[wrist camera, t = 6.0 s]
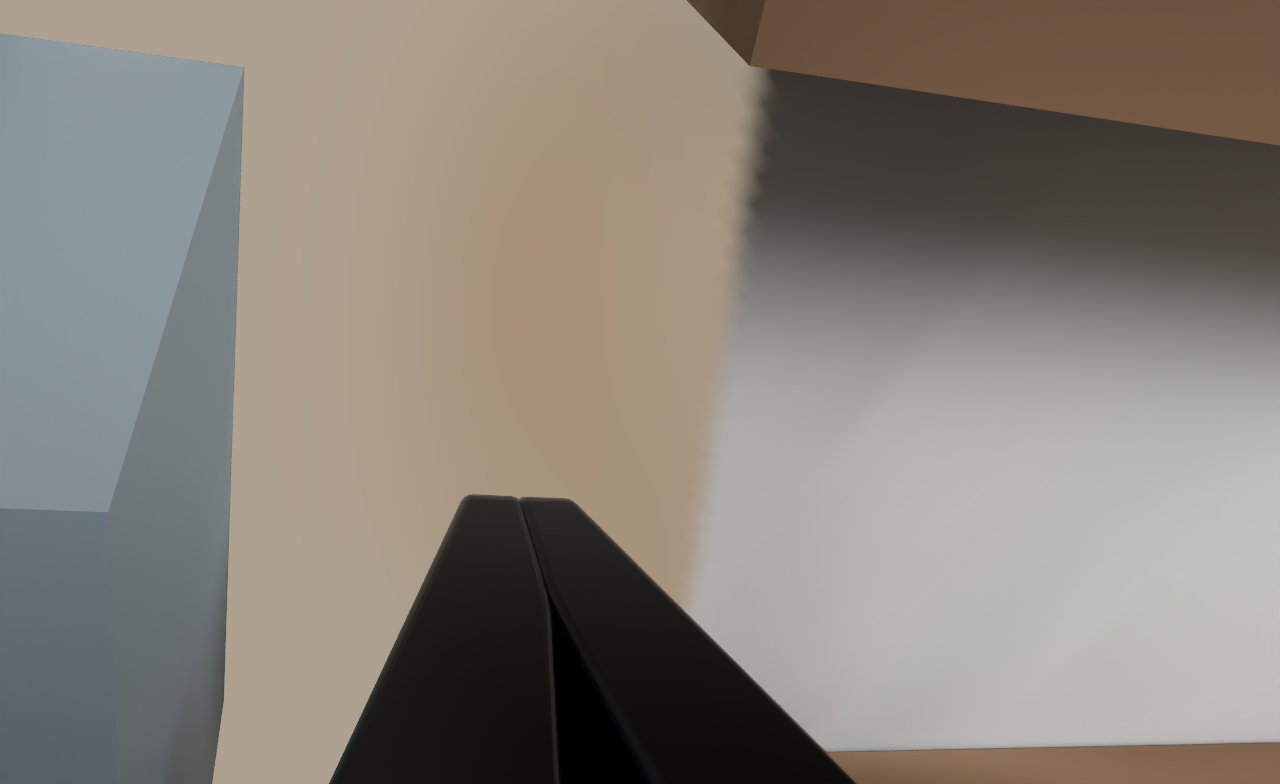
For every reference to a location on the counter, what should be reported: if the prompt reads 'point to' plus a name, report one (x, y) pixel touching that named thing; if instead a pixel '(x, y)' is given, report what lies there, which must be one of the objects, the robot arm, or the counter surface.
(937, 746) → the counter surface
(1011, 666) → the counter surface
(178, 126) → the slate block
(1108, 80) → the trap channel
